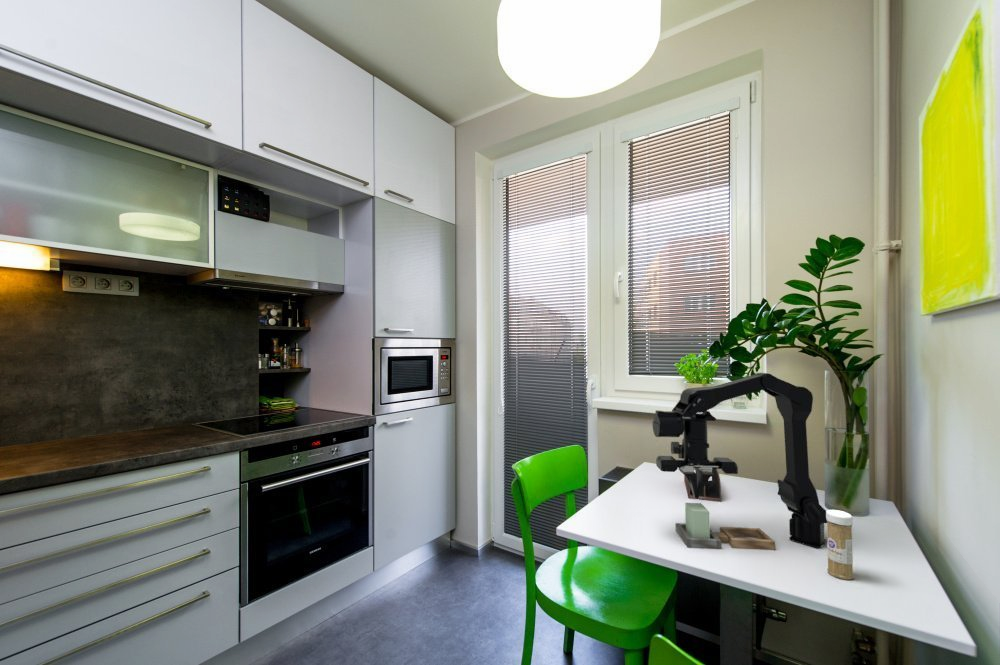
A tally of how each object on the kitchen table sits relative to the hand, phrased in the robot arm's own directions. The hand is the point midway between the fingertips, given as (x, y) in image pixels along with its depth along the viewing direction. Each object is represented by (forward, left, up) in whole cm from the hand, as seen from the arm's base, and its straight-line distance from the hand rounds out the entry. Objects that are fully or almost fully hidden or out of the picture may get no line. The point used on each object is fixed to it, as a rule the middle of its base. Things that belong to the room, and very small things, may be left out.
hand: (696, 497), depth 112 cm
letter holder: (+18, -39, -11) cm, 44 cm away
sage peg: (0, 0, -10) cm, 10 cm away
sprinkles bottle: (-28, -7, -11) cm, 31 cm away
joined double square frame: (-4, -4, -11) cm, 12 cm away
